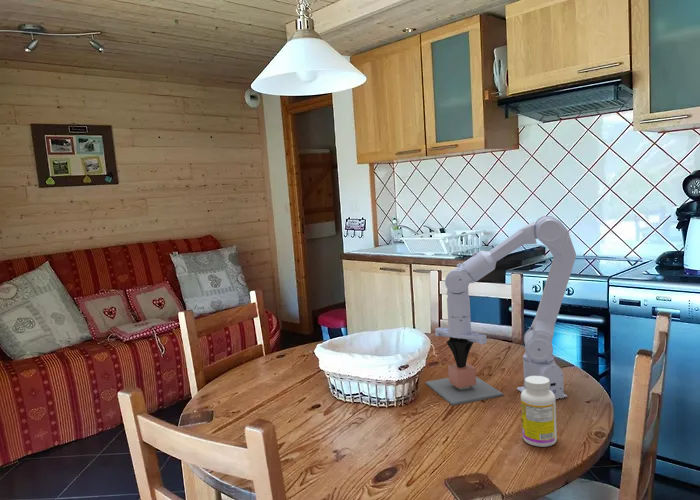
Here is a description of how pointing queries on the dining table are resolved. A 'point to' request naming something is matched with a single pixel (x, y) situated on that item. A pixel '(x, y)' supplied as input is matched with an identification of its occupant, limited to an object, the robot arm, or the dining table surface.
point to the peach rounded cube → (462, 375)
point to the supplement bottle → (538, 412)
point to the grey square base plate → (463, 391)
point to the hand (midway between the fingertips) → (461, 366)
